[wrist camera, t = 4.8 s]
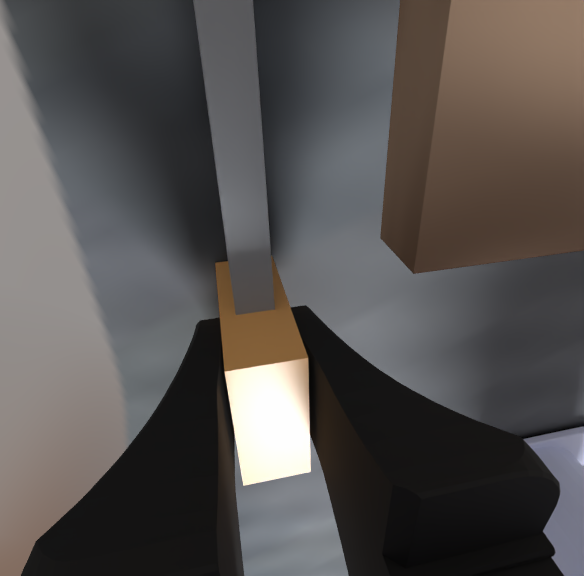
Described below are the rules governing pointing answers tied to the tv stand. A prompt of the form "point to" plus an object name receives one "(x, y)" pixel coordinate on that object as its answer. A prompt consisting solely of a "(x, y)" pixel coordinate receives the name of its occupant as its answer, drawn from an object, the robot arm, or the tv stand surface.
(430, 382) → the tv stand surface
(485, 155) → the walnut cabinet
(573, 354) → the tv stand surface
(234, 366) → the grey handled mallet
